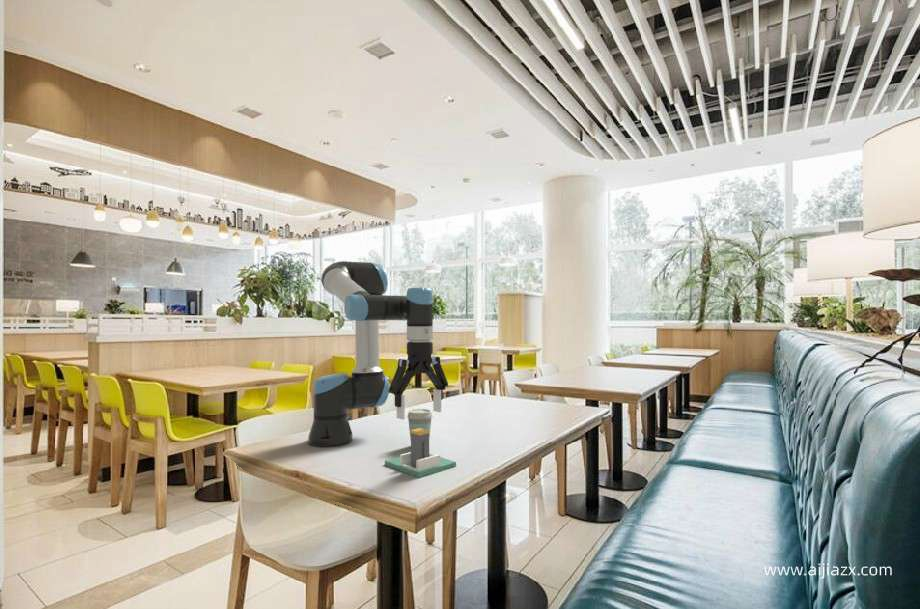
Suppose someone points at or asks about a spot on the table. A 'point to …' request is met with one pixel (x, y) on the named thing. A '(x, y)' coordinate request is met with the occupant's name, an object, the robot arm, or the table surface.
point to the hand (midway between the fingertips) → (419, 415)
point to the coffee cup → (419, 419)
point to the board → (420, 464)
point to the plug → (419, 445)
